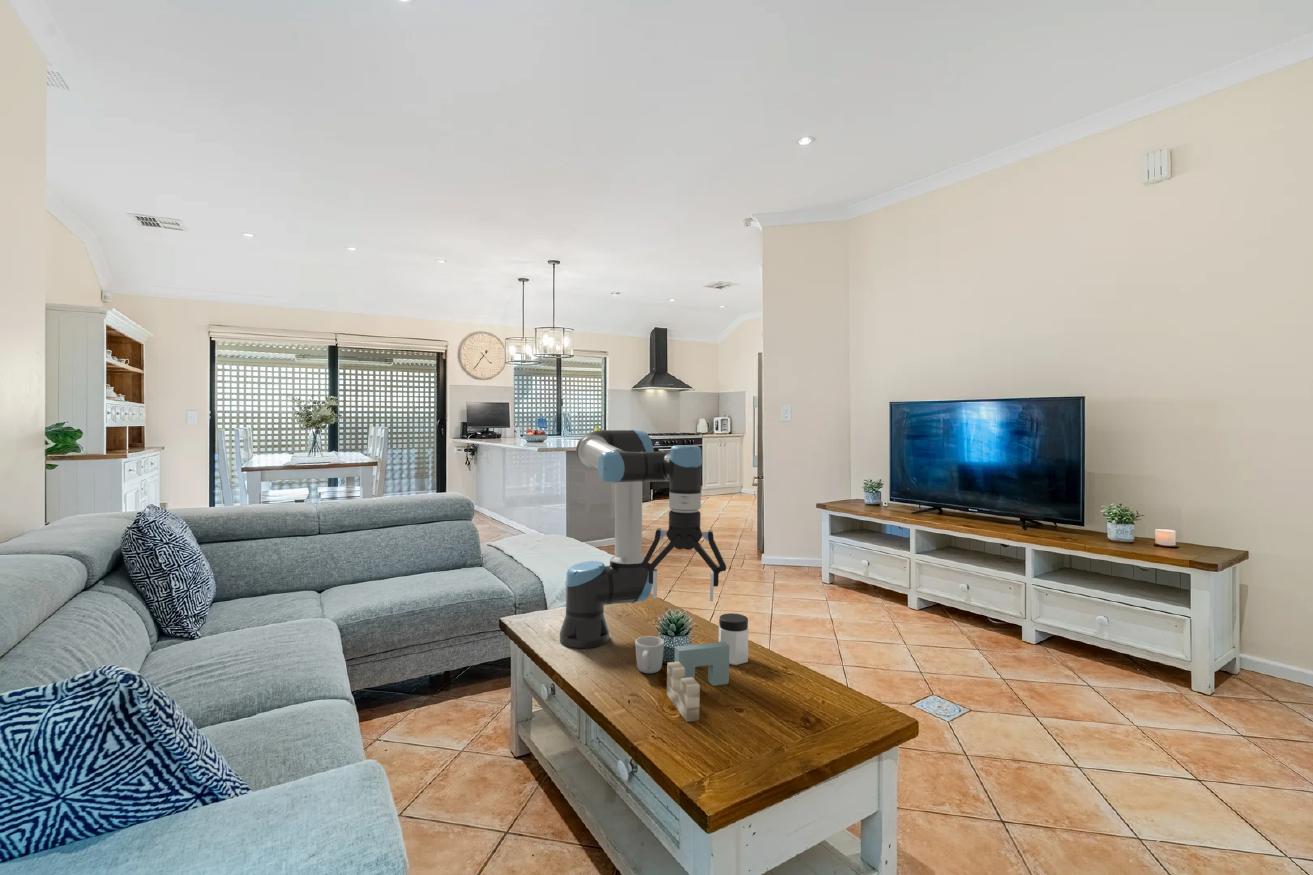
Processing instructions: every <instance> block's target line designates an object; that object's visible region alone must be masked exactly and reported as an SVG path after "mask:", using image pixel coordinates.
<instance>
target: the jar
mask: <svg viewBox="0 0 1313 875" xmlns="http://www.w3.org/2000/svg"><path fill="white" fill-rule="evenodd" d="M718 623H719V624H718V642H726V643H727V644H728V645H729V646H730V647H729V665H733V666H739V665H741V664H742V665H743V664H745V663H748V662H749V619H748V617H747V616H746V615H744V614H740V613H724V614H721V615H720V616H719V622H718Z"/></svg>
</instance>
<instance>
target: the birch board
mask: <svg viewBox="0 0 1313 875" xmlns="http://www.w3.org/2000/svg"><path fill="white" fill-rule="evenodd" d="M666 667H667V668H666V695H667V697H668V699H670V701H671V702H672V704H673V705H674V706H675V708H676V709H677V711H678V712H679V713H680V715H681V716H682V718H683V719H684V720H685V722H689V723H690V722H694V721H695V722H696V721H700V700H701V699H700V697H701V696H700V695H701V693H700V692H701V691H700V688H701V685H700V684H699V682H698V681H697V680H696V679H694V678H693V677H690V678H685V668H684V667H683V666H682V665H681V663H680V662H679V661H678V662H674V661H671V662H667V665H666Z"/></svg>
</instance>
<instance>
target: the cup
mask: <svg viewBox="0 0 1313 875" xmlns="http://www.w3.org/2000/svg"><path fill="white" fill-rule="evenodd" d="M634 645H635V656H636V666H637V669H638V671H640V672H641V673H643V674H655V673H658V672H659V671H661V669H662V666H663V660H664V659H663V657H664V651H665V650H664V649H665V640H664V639H663V638H661V637H659V636H656V635H655V636H653V635H645V636H640V637H638V638H636V640H635V641H634Z"/></svg>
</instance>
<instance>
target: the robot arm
mask: <svg viewBox="0 0 1313 875" xmlns="http://www.w3.org/2000/svg"><path fill="white" fill-rule="evenodd" d="M651 439H652V438H650V436H649V434H648V433H647V432H645V431H643V430H636V429H635V430H634V429H631V430H630V429H628V430H626V429H624V430H623V429H622V430H621V429H620V430H619V429H617V430H615V429H613V430H610V429H608V430H606V429H602V430H601V429H599V430H594V431H591V432H589V433H586V434H584V435H583V436H582V437H581V438H580V439H579V441H578V443H577V445H576V450H575V451H576V456H577V459H578V460H579V462H580V463H581V464H583V466H586V467H588V468H596V469H597V472H598V476H599V479H600V481H602V482H605V483H612V484H613V483H615V484H614V488H615V489H614V499H615V500H614V554H613V555H612V557H611V558H609V565H607V566H606V565H605V563H604V562H603V561H600V560H594V561H593V560H590V561H582V562H579V563H576V564H574V565H571V566H570V567H569V568H568V569H567V572H566V577H565V578H566V579H565V616H564V619H563V622H562V625H561V629H560V631H559V642H560V643H561V645H563V646H565V647H568V648H573V649H591V648H598V647H600V646H603V645H606V644H607V643H608V642H609V640H610V631H609V630H610V629H609V627H608V624H607V622H606V621H607V620H606V618H605V613H604V612H605V611H604V610H605V605H618V604H629V603H631V604H635V603H639V602H645V601H646V600H648V599H649V597H650V595H651V593H652V599H653V600H654V599H655V600H656V599H657V596H658V568H656V567H657V566H658V565H660V563H661V562H662V561H663V559H664V558H665V557H666V556H667V555H668V554H669V553H670V552H671V551H672V550H673V549H674V548H675V549H677V550H687V551H688V550H689V551H690V550H692V549H694V550H695V551H696V553H697V554H698V555H699V556H700V557H701V558H702V560H703V561H704V562H705V563H706V564H707V566H708V567H709V568H710V569H711V570H710V579H709V580H710V581H709V582H710V583H709V585H710V587H709V602H714V587H719V577H720V576H719V575H720V573H722V572H727V571H726V570H727V565H726V564H727V563H726V562H725V560H724V559H723V556H722V554H721V552H720V550H719V547H718V544H717V543H716V541H715V539H714V531H713V530H712V529H710V530H708V531H702V529H701V514H702V513H701V512H700V511H699V510H700V509H701V508H702V506H701V505H702V504H701V503H702V501H701V500H702V491H701V490H702V465H703V458H702V448H701V447H700V446H698V445H688V444H687V445H682V444H681V445H679V444H678V445H676V444H675V445H673V446H671V448H670V450H662V451H654V446H653V442H652V440H651ZM643 482H645V483H646V482H648V483H651V482H669V493H668V494H669V497H668V498H669V500H668V504H669V505H668V507H669V509H670V510H669V512H668V529H667V530H664V529H661V528H660V527H659V528H657V529H656V531H655V533H654V539H653V541H652V543H651V545H650V547H649V549H648V551H647V553H646V555H645V556H644V555H643ZM665 536H666V537H667V539H668V540H669V543H668V544H666V546H665V547H664V549H663V550H662V551H660V553H659V554H658V555H657V556H656V557H655V559H654V560H653V561H652V562H651V563H650V560H651V557H652V555H653V554H654V552H655V550H656V548H657V546H658V544H659V543H660V540H663V539H664V537H665ZM702 538H704V539H705V541H707V542H708V543H709V546H710V549H711V551H712V552H713V555H714V557H715V559H716V561H717V563H718V565H717V564H716V563H715V561H714V560H713V559H712V558H711V556H710V554H708V553H707V551H705V549H704V548H703V546H702V545H701V544H700V540H701V539H702Z"/></svg>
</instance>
